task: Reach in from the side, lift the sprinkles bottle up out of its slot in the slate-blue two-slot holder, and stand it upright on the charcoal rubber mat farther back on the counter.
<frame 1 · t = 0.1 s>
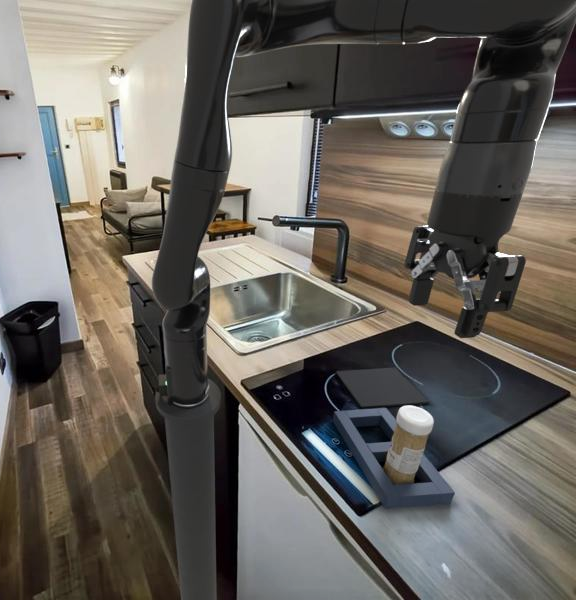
hand: (439, 319, 46), 30 cm above the worktop, tool pointing down, fingers open, 8 cm apart
sprinkles bottle: (397, 478, 60), resting in holder
holder: (384, 456, 63), on the worktop
mat: (379, 387, 80), on the worktop
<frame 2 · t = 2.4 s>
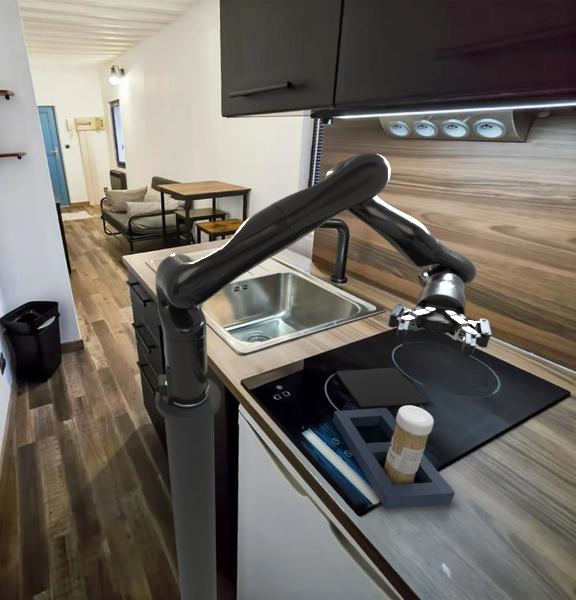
hand: (433, 342, 59), 20 cm above the worktop, tool horizontal, fingers open, 8 cm apart
nothing on the worktop moved.
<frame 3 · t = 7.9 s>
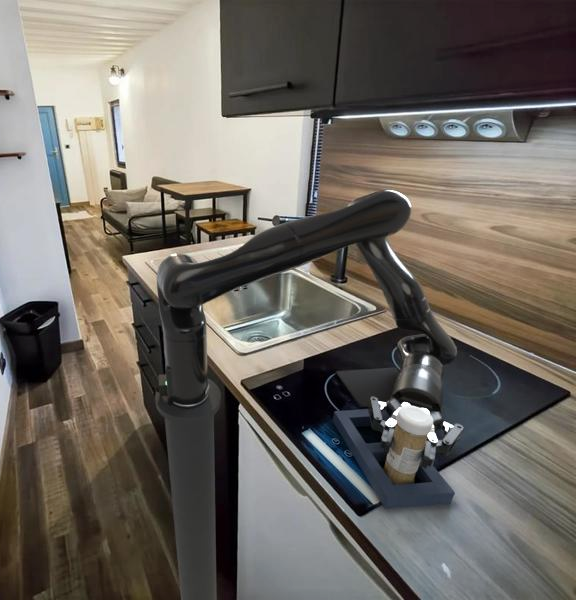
hand: (405, 455, 55), 8 cm above the worktop, tool horizontal, fingers closed on sprinkles bottle, 4 cm apart
sprinkles bottle: (397, 478, 60), resting in holder, touching gripper
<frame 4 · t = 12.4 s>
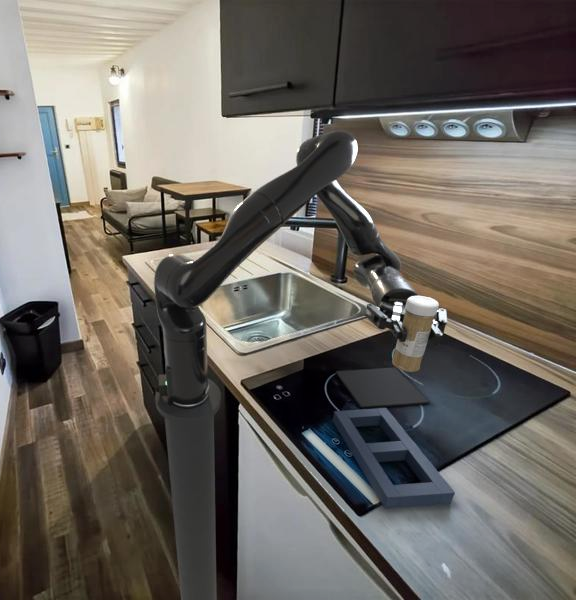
hand: (420, 338, 61), 19 cm above the worktop, tool horizontal, fingers closed on sprinkles bottle, 4 cm apart
sprinkles bottle: (405, 366, 67), point 12 cm above the worktop, touching gripper
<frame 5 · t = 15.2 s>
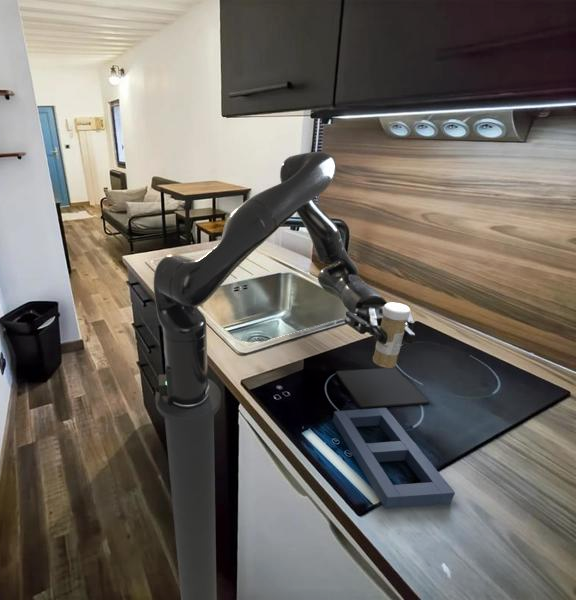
hand: (398, 339, 72), 14 cm above the worktop, tool horizontal, fingers closed on sprinkles bottle, 4 cm apart
sprinkles bottle: (384, 363, 77), point 6 cm above the worktop, touching gripper
when the fingers open (8 cm above the worktop, at t = 17.3 s): sprinkles bottle stays where it is, resting on mat.
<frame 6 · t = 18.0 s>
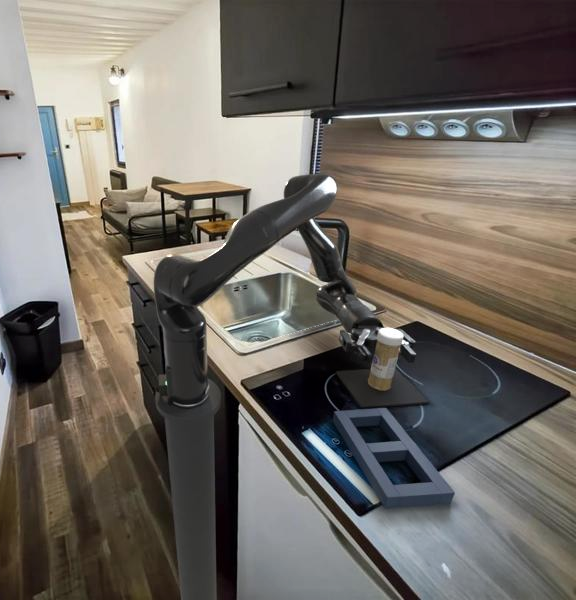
hand: (390, 359, 74), 9 cm above the worktop, tool horizontal, fingers open, 8 cm apart
sprinkles bottle: (378, 385, 80), resting on mat
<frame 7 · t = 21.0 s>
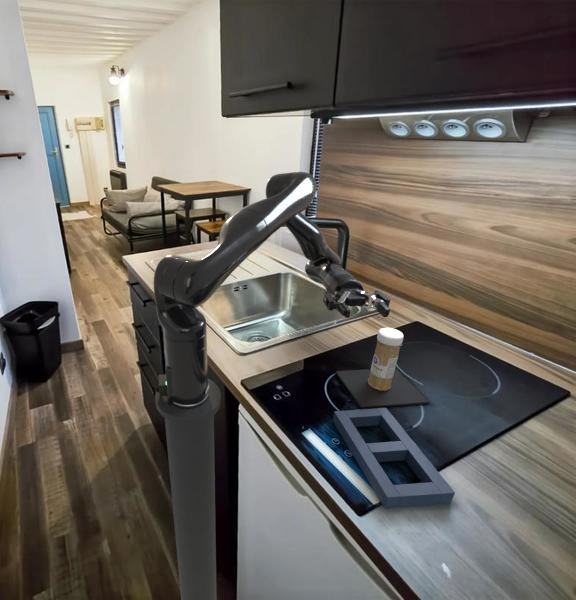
hand: (367, 314, 83), 13 cm above the worktop, tool horizontal, fingers open, 8 cm apart
nothing on the worktop moved.
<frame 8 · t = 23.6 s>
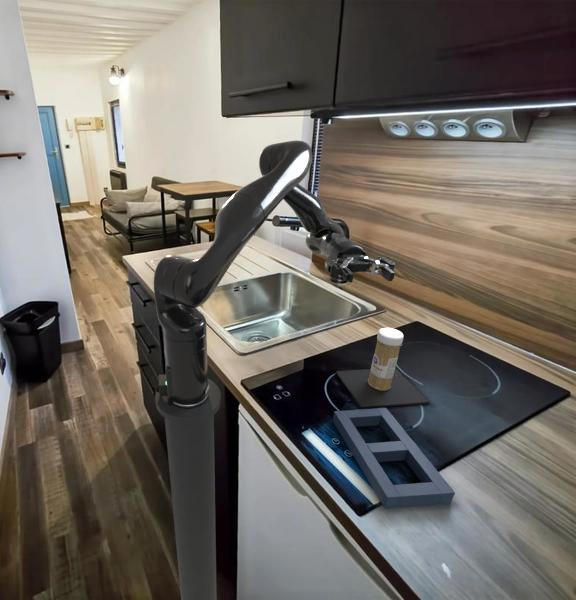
hand: (371, 277, 80), 22 cm above the worktop, tool horizontal, fingers open, 8 cm apart
nothing on the worktop moved.
at the end: sprinkles bottle inside the target area on the mat (0.2 cm from its centre), point 0.3 cm above the mat's base; sprinkles bottle tilted 0°; the gripper is holding nothing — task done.
